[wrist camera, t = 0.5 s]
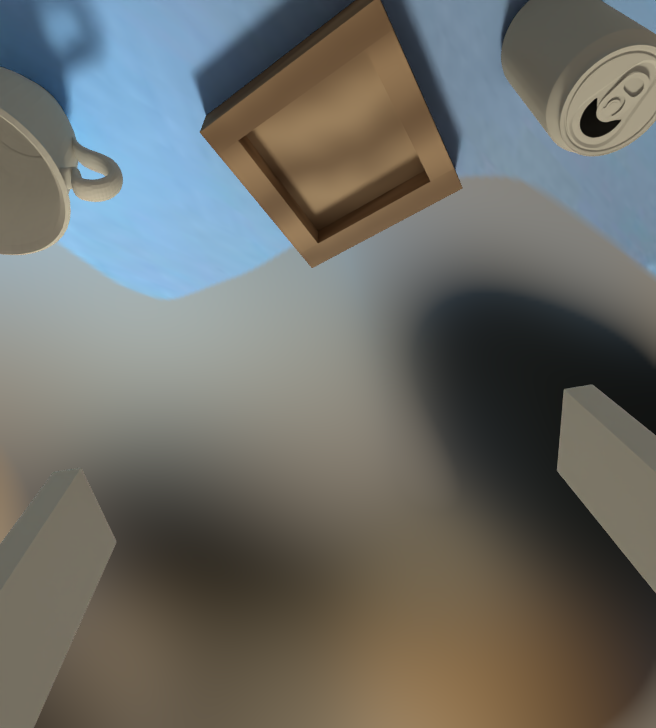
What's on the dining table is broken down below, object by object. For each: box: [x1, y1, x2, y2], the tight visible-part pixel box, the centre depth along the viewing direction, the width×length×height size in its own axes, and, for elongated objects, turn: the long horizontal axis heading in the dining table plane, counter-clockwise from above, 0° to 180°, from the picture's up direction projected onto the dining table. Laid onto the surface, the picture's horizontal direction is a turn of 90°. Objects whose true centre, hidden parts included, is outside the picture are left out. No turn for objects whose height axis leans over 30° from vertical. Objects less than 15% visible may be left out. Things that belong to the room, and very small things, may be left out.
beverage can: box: [501, 0, 656, 156], centre depth 29 cm, size 6×6×12 cm
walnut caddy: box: [200, 0, 462, 268], centre depth 37 cm, size 15×15×3 cm
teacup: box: [0, 67, 123, 255], centre depth 33 cm, size 12×15×10 cm
